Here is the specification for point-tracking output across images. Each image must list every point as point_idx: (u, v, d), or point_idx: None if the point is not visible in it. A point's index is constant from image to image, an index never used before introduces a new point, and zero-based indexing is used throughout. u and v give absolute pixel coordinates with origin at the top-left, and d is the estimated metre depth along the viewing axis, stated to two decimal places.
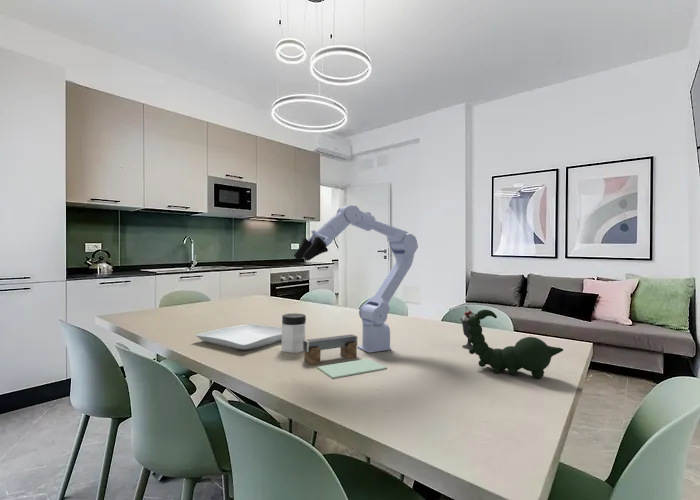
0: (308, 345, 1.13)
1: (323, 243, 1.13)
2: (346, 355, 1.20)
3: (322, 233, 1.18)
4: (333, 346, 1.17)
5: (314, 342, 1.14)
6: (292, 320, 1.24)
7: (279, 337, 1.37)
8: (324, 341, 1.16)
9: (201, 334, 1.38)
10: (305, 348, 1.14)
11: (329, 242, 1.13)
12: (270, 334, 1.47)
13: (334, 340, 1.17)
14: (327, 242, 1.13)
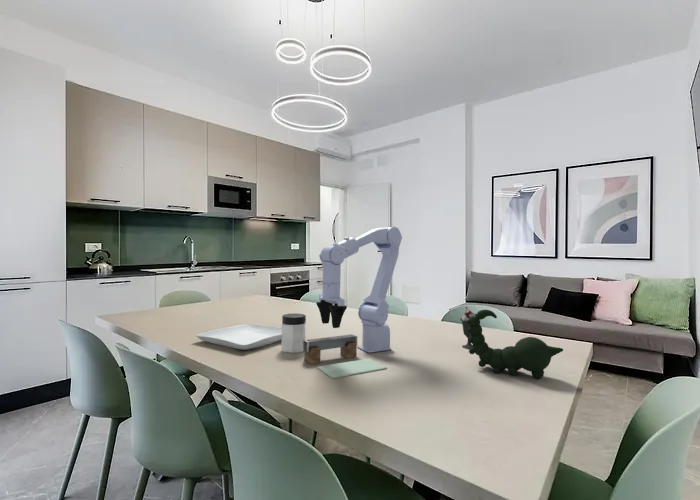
0: (308, 345, 1.13)
1: (339, 306, 1.13)
2: (346, 355, 1.20)
3: (329, 294, 1.16)
4: (333, 346, 1.17)
5: (314, 342, 1.14)
6: (292, 320, 1.24)
7: (279, 337, 1.37)
8: (324, 341, 1.16)
9: (201, 334, 1.38)
10: (305, 348, 1.14)
11: (343, 302, 1.12)
12: (270, 334, 1.47)
13: (334, 340, 1.17)
14: (341, 304, 1.12)
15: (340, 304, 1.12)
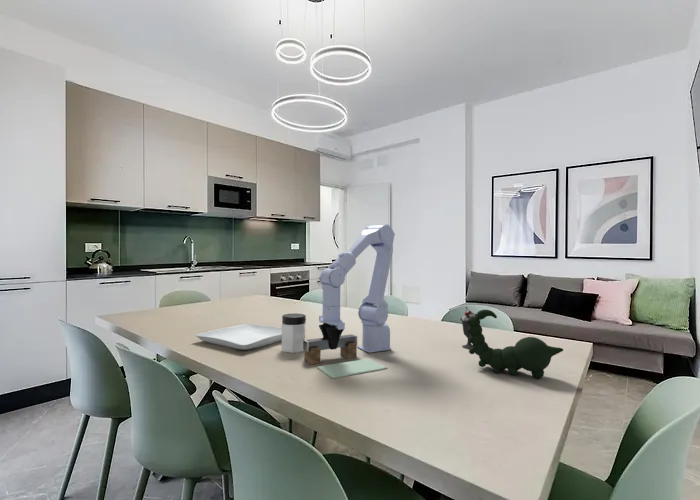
0: (308, 345, 1.13)
1: (336, 328, 1.15)
2: (346, 355, 1.20)
3: (329, 317, 1.16)
4: None
5: (314, 342, 1.14)
6: (292, 320, 1.24)
7: (279, 337, 1.37)
8: (324, 341, 1.16)
9: (201, 334, 1.38)
10: (305, 348, 1.14)
11: (343, 326, 1.12)
12: (270, 334, 1.47)
13: None
14: (342, 327, 1.12)
15: (340, 328, 1.12)
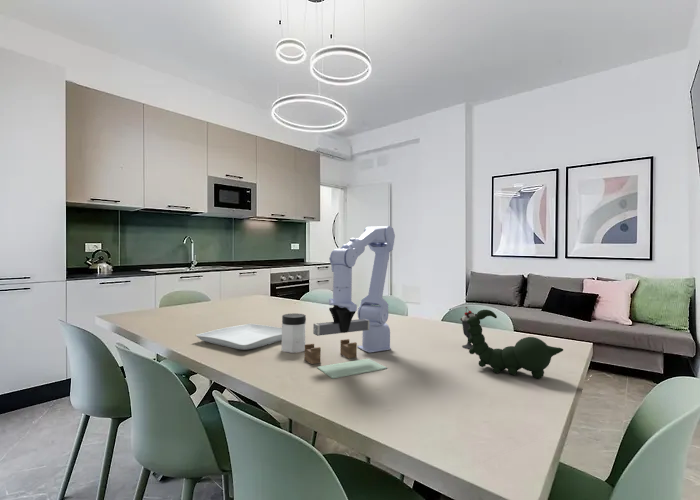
0: (319, 328, 1.08)
1: (347, 311, 1.10)
2: (346, 355, 1.20)
3: (340, 299, 1.10)
4: None
5: (325, 325, 1.09)
6: (292, 320, 1.24)
7: (279, 337, 1.37)
8: (335, 325, 1.10)
9: (201, 334, 1.38)
10: (315, 332, 1.09)
11: (355, 307, 1.07)
12: (270, 334, 1.47)
13: None
14: (354, 309, 1.07)
15: (352, 309, 1.07)
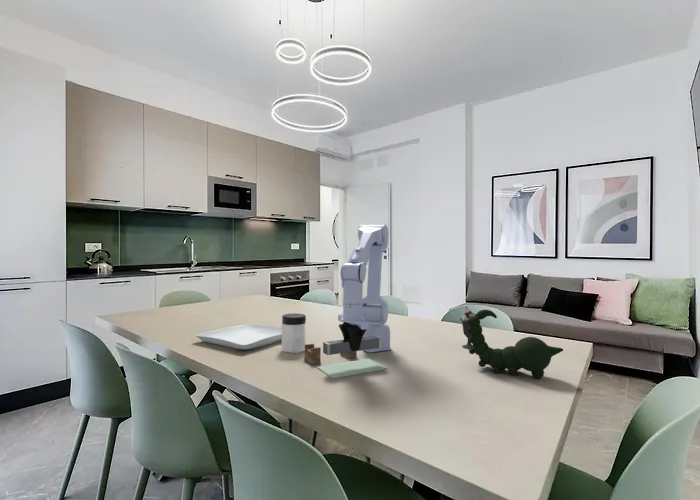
0: (329, 348, 1.03)
1: (359, 328, 1.05)
2: (346, 355, 1.20)
3: (351, 316, 1.06)
4: None
5: (335, 344, 1.04)
6: (292, 320, 1.24)
7: (279, 337, 1.37)
8: (346, 343, 1.06)
9: (201, 334, 1.38)
10: (325, 351, 1.04)
11: (367, 325, 1.02)
12: (270, 334, 1.47)
13: None
14: (365, 327, 1.02)
15: (364, 327, 1.02)
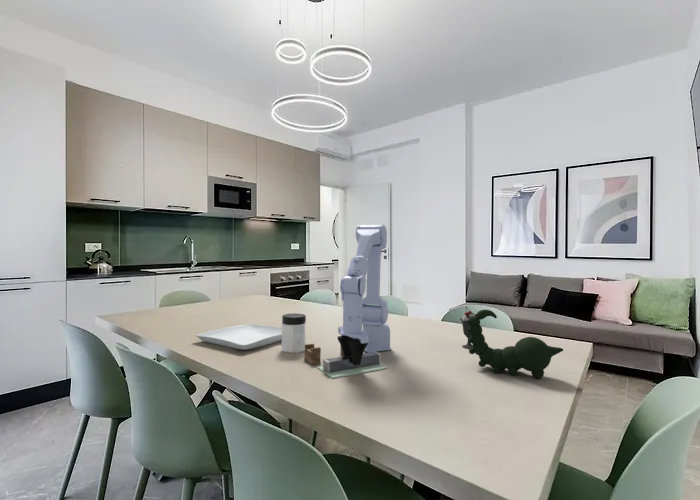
0: (329, 365, 1.03)
1: (360, 342, 1.04)
2: None
3: (351, 330, 1.06)
4: (355, 365, 1.07)
5: (335, 362, 1.04)
6: (292, 320, 1.24)
7: (279, 337, 1.37)
8: (346, 360, 1.06)
9: (201, 334, 1.38)
10: (325, 369, 1.04)
11: (367, 339, 1.02)
12: (270, 334, 1.47)
13: None
14: (365, 341, 1.02)
15: (364, 341, 1.02)
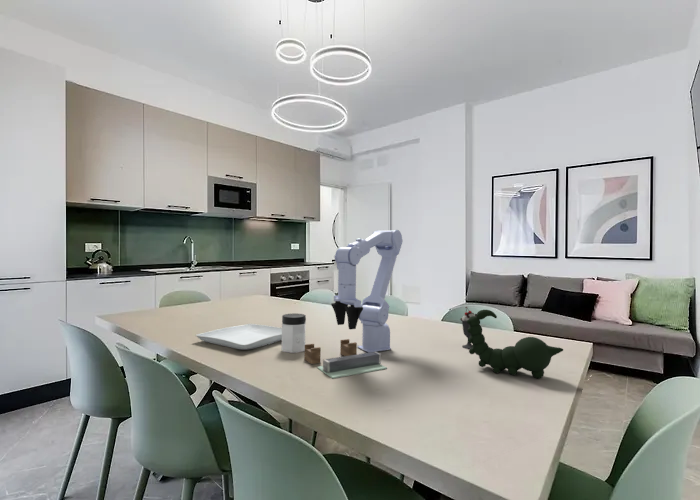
0: (329, 365, 1.03)
1: (355, 307, 1.12)
2: (346, 355, 1.20)
3: (345, 296, 1.15)
4: (355, 365, 1.07)
5: (335, 362, 1.04)
6: (292, 320, 1.24)
7: (279, 337, 1.37)
8: (346, 360, 1.06)
9: (201, 334, 1.38)
10: (325, 369, 1.04)
11: (359, 303, 1.12)
12: (270, 334, 1.47)
13: (357, 360, 1.08)
14: (358, 305, 1.12)
15: (357, 305, 1.11)
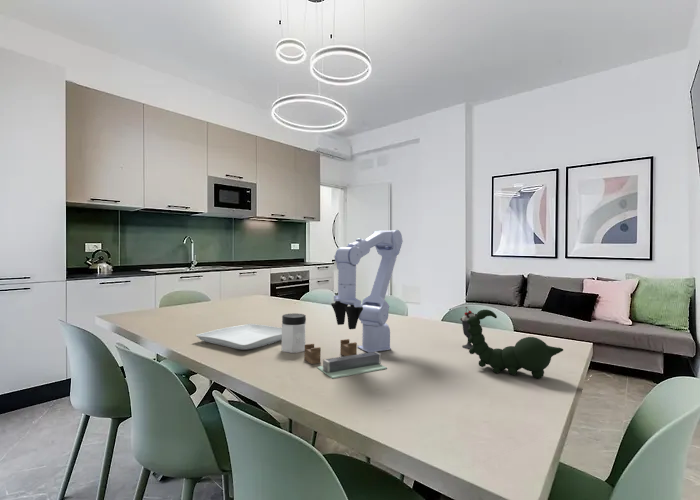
0: (329, 365, 1.03)
1: (355, 307, 1.12)
2: (346, 355, 1.20)
3: (345, 296, 1.15)
4: (355, 365, 1.07)
5: (335, 362, 1.04)
6: (292, 320, 1.24)
7: (279, 337, 1.37)
8: (346, 360, 1.06)
9: (201, 334, 1.38)
10: (325, 369, 1.04)
11: (359, 303, 1.12)
12: (270, 334, 1.47)
13: (357, 360, 1.08)
14: (358, 305, 1.12)
15: (357, 305, 1.11)
